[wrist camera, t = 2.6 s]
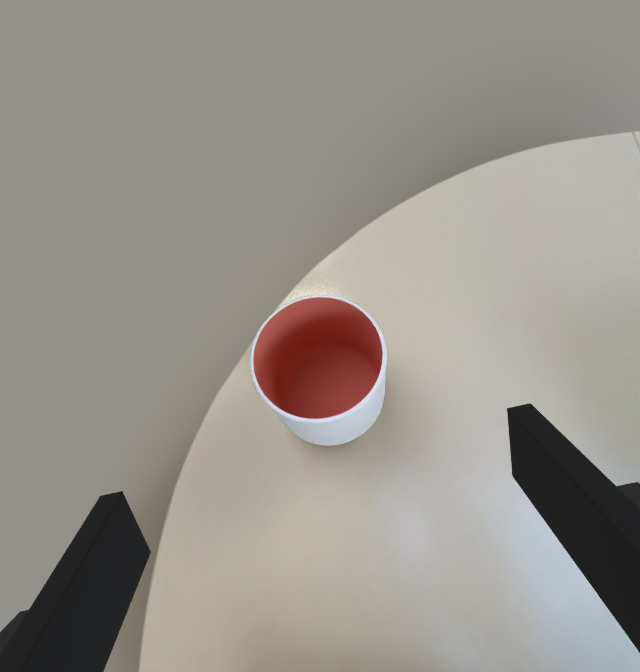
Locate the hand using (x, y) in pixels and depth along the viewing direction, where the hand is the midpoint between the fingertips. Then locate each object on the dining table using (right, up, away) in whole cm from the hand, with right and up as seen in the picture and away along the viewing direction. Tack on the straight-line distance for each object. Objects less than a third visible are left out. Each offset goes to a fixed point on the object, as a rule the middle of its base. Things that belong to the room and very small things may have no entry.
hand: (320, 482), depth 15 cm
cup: (+1, -1, +26) cm, 26 cm away
